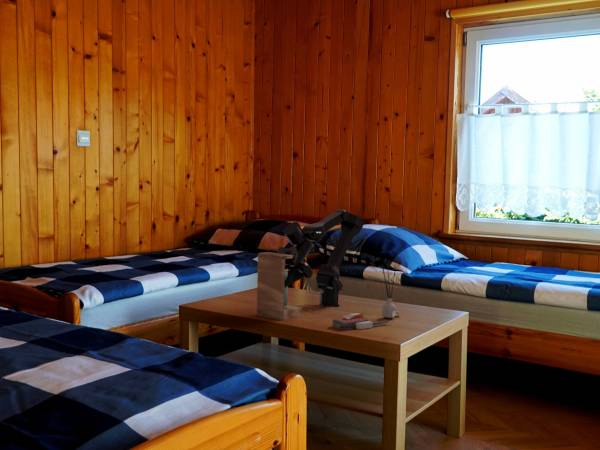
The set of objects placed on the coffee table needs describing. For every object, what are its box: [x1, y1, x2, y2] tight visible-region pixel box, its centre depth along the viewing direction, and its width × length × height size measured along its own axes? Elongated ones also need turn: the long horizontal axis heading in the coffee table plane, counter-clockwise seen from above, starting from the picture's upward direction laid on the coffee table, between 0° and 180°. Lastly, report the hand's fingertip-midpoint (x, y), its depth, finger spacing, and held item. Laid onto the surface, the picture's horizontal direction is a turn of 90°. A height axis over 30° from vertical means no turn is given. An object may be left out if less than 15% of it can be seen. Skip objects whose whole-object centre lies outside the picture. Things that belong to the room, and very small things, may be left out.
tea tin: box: [284, 269, 289, 306], centre depth 233 cm, size 5×5×13 cm
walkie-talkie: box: [332, 312, 389, 331], centre depth 220 cm, size 9×4×20 cm
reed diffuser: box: [381, 263, 401, 319], centre depth 233 cm, size 10×7×20 cm
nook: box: [256, 251, 303, 321], centre depth 233 cm, size 11×12×22 cm
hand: (278, 286), depth 232 cm, fingers closed on tea tin, 5 cm apart
